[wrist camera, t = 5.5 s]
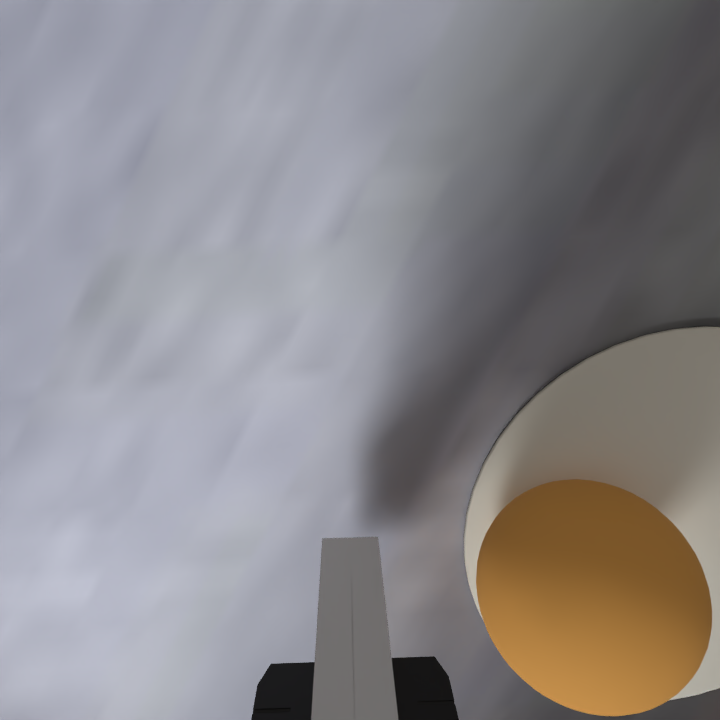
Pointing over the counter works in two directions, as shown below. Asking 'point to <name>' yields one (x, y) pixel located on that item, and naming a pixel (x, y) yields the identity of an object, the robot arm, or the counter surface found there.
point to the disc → (624, 448)
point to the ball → (594, 597)
